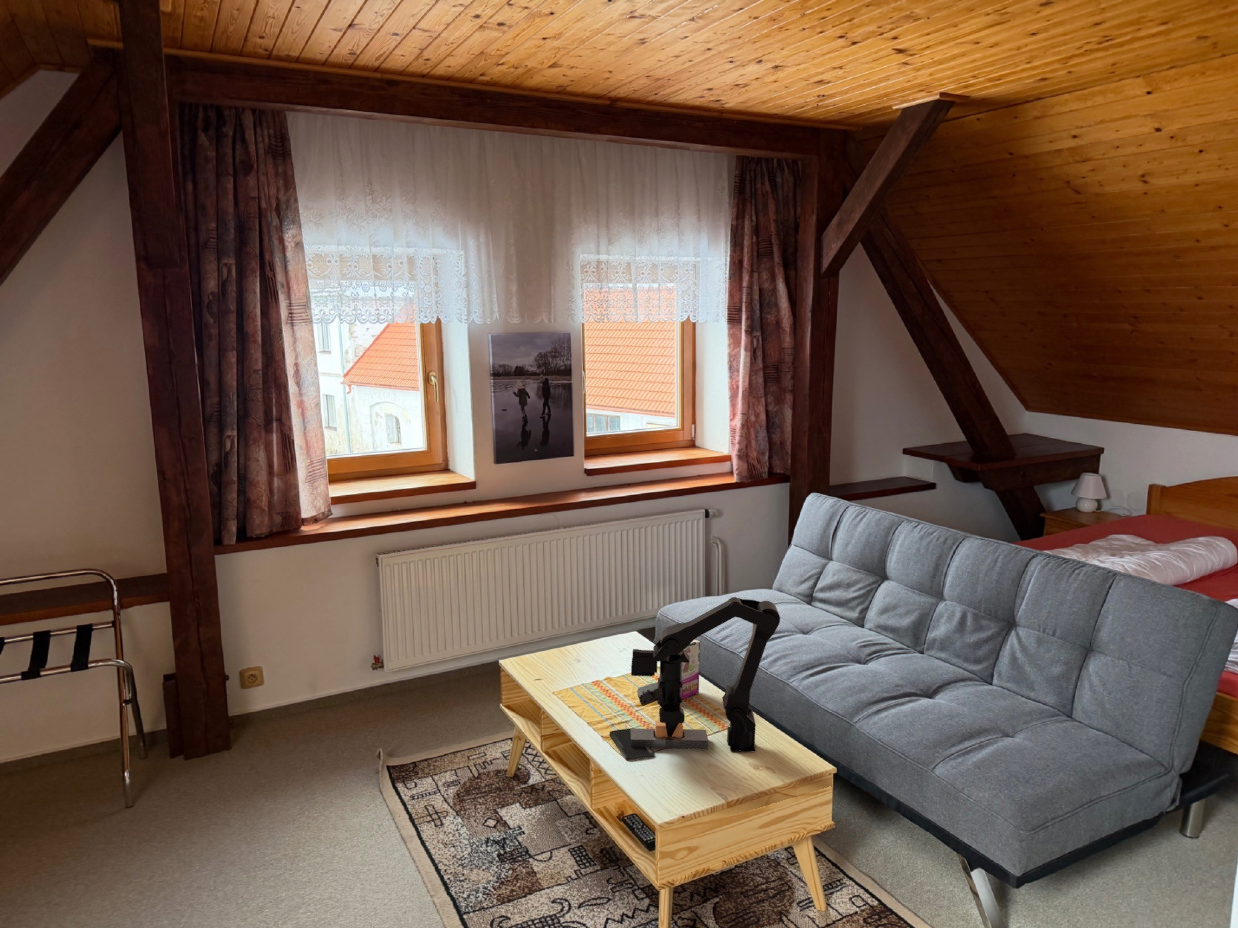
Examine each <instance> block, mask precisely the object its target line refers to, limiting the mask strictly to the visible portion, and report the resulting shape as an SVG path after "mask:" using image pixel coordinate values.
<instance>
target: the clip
mask: <svg viewBox="0 0 1238 928" xmlns="http://www.w3.org/2000/svg"><path fill="white" fill-rule="evenodd" d="M654 725H655V727H654V729H655V735H656V736H657V737H668V736H667V730H666V725H665V723H661V722H660V721H655V723H654ZM683 729H684V725H683V723H679V724H678V726H677V727H676V729H675V731H674V733H673V735H672V737H676V738H681V737H683Z"/></svg>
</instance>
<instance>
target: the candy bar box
mask: <svg viewBox="0 0 1238 928" xmlns="http://www.w3.org/2000/svg"><path fill="white" fill-rule="evenodd" d="M700 643H701V641H700V640H698V639H695V640H693V641H692V642H691V644H690V645H689V646H688V647H687V648H685V649H684V651H685V653H686V654H688V655H689V660H690V662H689V663H683V662H682V688H681V697H682V700H684V699H687V698H690V697H692V696H695V695H698V694H699V692H700V653H701V651H700V649H701V648H700V647H701V644H700Z"/></svg>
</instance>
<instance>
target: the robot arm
mask: <svg viewBox="0 0 1238 928" xmlns="http://www.w3.org/2000/svg"><path fill="white" fill-rule="evenodd" d="M734 618H737V619H741V620H743V621H746V622H748V623H751V624H752V633H751V637H750V639H749V643H748V645H747V648H746V651H745V654H744V657H743V660H742V662H741V666H740V669H739V672H738V675H737V678H736V680H735V682H734V684H733V685H732V686H730V685H728V684H727V685H726V686H725V692H724V694H723V695H722V697H721V698H722V704H723V706H722V707H723V710H724V715H725V717H726V719H727V720H728V721H729V726H727V729H726V730H727V731H726V733H727V735H726V742H727V746H728V747H729V750H730V752H738V753H739V752H747V753H748V752H749V753H750V752H751V753H755V752H756V751H757V749H756V745H755V742H756V726H757V723H756V720H755V716H754V710H753V709H752V708H751V707H750V700H751V690H752V687H753V683H754V681H755V678H756V676H757V673H758V669H759V667H760V664H761V661H762V657H763V654H764V651H765V649H766V646H767V644H768V642H769V641H770V639H771V638H772V637H773V635H775V632H776V631H777V629H778V627H779V625H780V623H781V617H780V613H779V611H778V608H777V607H776V605H775V603H774V602H772V601H770V600H762V601H759V600H754V599H750V598H749V599H746V598H740V597H737V596H733V597H730V598H728V600H726V601H725V602H722V603H721V604H719V605H717V606H716V607H713V608H712V609H709V610H707V611H706V612H704V613H703V614H701V615H699V616H697V617H695V618H694V619H693V618H692V619H691V620H689V621H686V622H680V623H675V624H672V625H669V626H668V627H665V628H663V630H662V631H661V633H660V638H659V640H657V642H656V643H655V644H654V646H653V648H652V649H653V650H650V649H649V650H648V649H638V648H633V649H632V655H631V656H632V657H631V666H630V667H631V669H630V671H631V672H630V674H631V675H630V676H631V677H648V678H649V677H650V678H651V677H652V678H653V677H654V676H655V675H656V674H657V673H658V662H659V676H658V678H657V681H656V682H654V683H649V684H645V685H642V686H640V687H638V688H637V696H638V699H639V703H640V705H641V706H642V707H645V706H648V705H650V704H653V703H655V702H657V705H658V706H659V707H660V708H659V710H658V717H659V719H658V720H659V722H661V723H665V725H666V730H667V736H668V737H672V735H673V733H674V731H675V729H676V727H677V726H678V724H679V723H682V724H683V723H685V710H684V708H683V707H682V706H681V704H682V701H683V699H682V697H681V688H682V662H683V663H689V662H690V660H689V655H688V654H686V653H685V651H684V649H685V648H687V647H688V646H689V645H690V644H691V642H692V641H693V640H697V638H699V637H700V636H702V635H704V634H706V633H708V632H710V631H711V630H713V629H715V628H717V627H719V626H721V625H723V624H725V623H727V622H728V621H730V620H731V619H734Z"/></svg>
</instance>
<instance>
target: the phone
mask: <svg viewBox="0 0 1238 928" xmlns="http://www.w3.org/2000/svg"><path fill="white" fill-rule="evenodd" d="M631 729H637V728H635V727H632V728H631V727H630V728H624V729H617V730H616V729H615V730H610V731H609V737H610V739H611V740H612V742H613V744H614V745H615V746H616V748H617V749H618V751H619V753H620V754H621V756H622V757H623V759H624V760H625V761H635V760H642V759H643V760H644V759H651V758H653V757H654V755H655V752H654V751H653V750H654V749H651V748H650V746H649V747H636V746H631V739H630V730H631Z"/></svg>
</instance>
